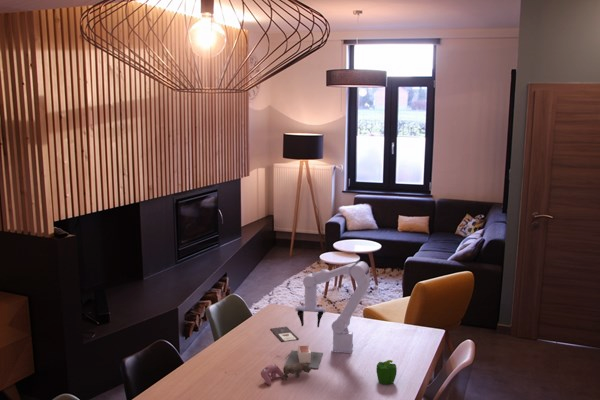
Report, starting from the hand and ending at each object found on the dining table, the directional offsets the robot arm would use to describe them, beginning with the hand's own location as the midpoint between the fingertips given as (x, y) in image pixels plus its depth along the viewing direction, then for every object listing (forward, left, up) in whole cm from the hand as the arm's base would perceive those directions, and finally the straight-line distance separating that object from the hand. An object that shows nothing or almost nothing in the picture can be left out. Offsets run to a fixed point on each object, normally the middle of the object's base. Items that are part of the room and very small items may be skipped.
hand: (310, 326), depth 273 cm
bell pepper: (-37, +34, -10) cm, 51 cm away
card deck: (0, +18, -9) cm, 20 cm away
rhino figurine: (0, +35, -10) cm, 37 cm away
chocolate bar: (+15, -11, -10) cm, 21 cm away
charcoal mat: (0, +18, -9) cm, 20 cm away
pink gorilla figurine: (+10, +40, -10) cm, 42 cm away
